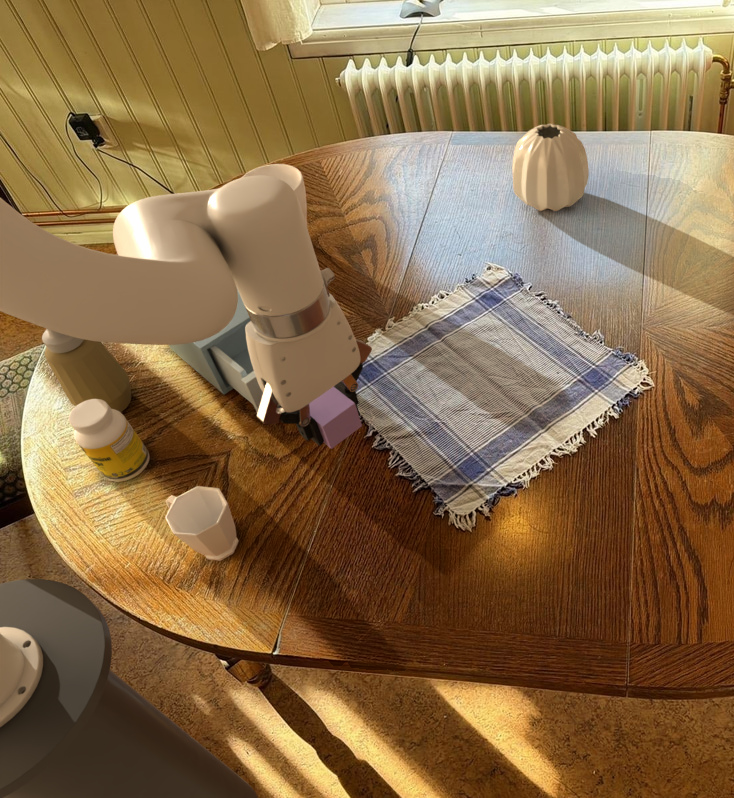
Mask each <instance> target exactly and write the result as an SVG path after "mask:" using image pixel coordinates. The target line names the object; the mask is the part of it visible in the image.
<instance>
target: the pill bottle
mask: <svg viewBox="0 0 734 798" xmlns="http://www.w3.org/2000/svg"><path fill="white" fill-rule="evenodd" d="M68 422H69V424H70V426H71V427H72V428H73V438H74V440H75V442H76V444H77V445H78V447H79V448H80V449H81V451H82V452H83V453H84V454H85V455H86V457H88V459H89V460H90V461H91V463H92V464H93V465H94V466H95V467H96V469H97V470H98V471H99V473H100V474H101V475H102V476H103V477H104V478H105V479H107V480H109V481H111V482H117V483H118V482H119V483H120V482H121V483H122V482H126V481H129V480H131V479H133V478H136V477H137V476H139V475H140V474H141V473H142V472H143V471H145V469H146V468H147V466H148V465H149V462H150V452H149V449H148V448H147V447H146V445H145V443H144V442H143V441H142V439H141V438H140V436H139V435H138V434H137V432H136V431H135V429H134V428H133V426H132V425H131V424H130V422H129V421H128V419H127V418H126V416H125V415H124V414H123V413H122V412H121V413H120V412H119V411H117V410H115V409H111V408H110V407H109V405H108V404H107V403H106V402H105V401H103V400H101V399H90V400H87V401H84V402H82V403H80V404H78V405H77V406H74V407H73V408H72V409H71V411H70V413H69V415H68Z"/></svg>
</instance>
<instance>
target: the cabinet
mask: <svg viewBox="0 0 734 798" xmlns="http://www.w3.org/2000/svg"><path fill="white" fill-rule="evenodd" d="M237 293H238V303H237V309H236V312H235V314H234V317H233V318H232V320H231V321H230V323H229V324H228V325H227V326H226V327H225V328H224V329H223V330H221V331H220V332H219V333H217V334H215V335H214V336H212V337H209V338H207V339H204V340H201V341H197V342H192V343H187V344H177V345H168V347H169V349H170V350H171V351H172V352H174V353H175V354H176V355H177V356H178V357H180V359H182V360H183V361H184V362H185V363H186V364H187V365H189V366H190V367H191V368H192V369H193V370H195V372H197V373H198V374H199V375H200V376H201V377H202V378H204V379H205V380H206V381H207V382H209V384H211V385H212V386H213V387H214V388H215V389H217V390H218V391H219V392H220V393H221V394H222V395H226V394H227V393H229V392H231V391H232V390H234V388H233V387H232V386H230V385H229V384H228V383H227V382H226V381H225V380H223V379H222V378H221V376H220V374H219V372H218V370H217V368H216V366H215V364H214V362H213V360H212V358H211V356H210V354H209V352H208V350H207V349H208V348H210V347H212V346H213V345H215V344H216V343H218V342H220V341H221V340H223V339H224V338H226V337H227V336H229V335H231V334H232V333H234V332H235V331H237V330H239V329H240V328H242V327H243V326H245V325H246V324H248V323H249V322H250V321H251V320H250V317H249V315H248V313H247V310H246V308H245V305H244V303H243V301H242V298H241V296H240V294H239V291H238V289H237Z"/></svg>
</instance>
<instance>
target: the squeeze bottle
mask: <svg viewBox="0 0 734 798" xmlns="http://www.w3.org/2000/svg"><path fill="white" fill-rule="evenodd" d="M41 341H42V343H43V344H44V346H45V351H44V357H45V361H46V362H47V364H48V365H49V367H50V369H51V370H52V372H53V374H54V375H55V378H56V379H57V381H58V383H59V384H60V387H61V388H62V390H63V392H64V393H65V395H66V398H68V400H69V402H70V404H72V406H74V407H76V406H77V405H78V404H80V403H82V402H84V401H87V400H90V399H101V400H103V401H105V402H106V403H107V404H108V405H109V407H110V408H111V409H115V410H117V411H119V412H120V413H122V412H123V411H125V410H126V409H127V408H128V406H129V405H130V404H131V400H132V391H131V383H130V382H131V381H130V377H129V374H128V373H127V371H126V370H125V368H123V366H122V365H121V363H119V362H118V360H117V359H116V358H115V357H114V355H113V354H112V353H111V352H110V351H109V350H108V348H107V347H106V346H105V345H104V344H103V342H98V341H91V340H85V339H80V338H76V337H72V336H68V335H64V334H61V333H58V332H55V331H52V330H49V329H46V328H45V330H44V331H43V333H42V336H41Z"/></svg>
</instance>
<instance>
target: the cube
mask: <svg viewBox="0 0 734 798" xmlns="http://www.w3.org/2000/svg"><path fill="white" fill-rule="evenodd" d="M309 406H310V416H311V417H313V418H314V419H315V420H316V422H317V424H318V427H319V430H320V432H321V435H322V437H323V440H324V442H323V444H325V445H326V446H327V447H328V448H329V449H333V448H335V447H336V446H338V445H339V444H340V443H341V442H343V441H344V440H346V439H347V438H348V437H350V436H351V435H352V434H353V433H355V432H357V430H359V429H360V428H361V427H363V425H362V420H361V418H360V416H359V414H358V411H357V408H356V405H355V403H354V402H353V401H351V400H350V399H349V398H348V397H346V396H345V395H344V394H342V393H341V392H340V391H339V390H337V389H336V388H335V387H334V386H333V387H332V388H331V389H329V390H328V391H326V392H325V393H324V394H322V395H321V396H319V397H318V398H316V399H315V400H313V401H312V402H310V403H309Z"/></svg>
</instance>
